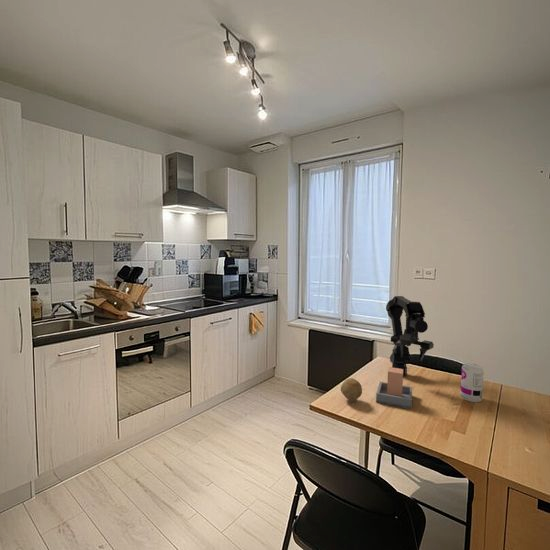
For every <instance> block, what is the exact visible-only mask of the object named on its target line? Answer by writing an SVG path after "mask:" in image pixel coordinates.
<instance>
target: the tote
mask: <svg viewBox="0 0 550 550" xmlns="http://www.w3.org/2000/svg"><path fill="white" fill-rule="evenodd" d="M375 396H376V397H375V398H376V399H375V403H376V402H377V403H376V404H381V405H386V406H387V405H388V406H393V407H397V408H403V409H408V410H412V405H413V404H412V402H413V401H412V400H413V387H412V386H407V385H403V387H402V397H398V396H393V395H387V382H384V381H379V383H378V386H377V391H376V393H375Z"/></svg>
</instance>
